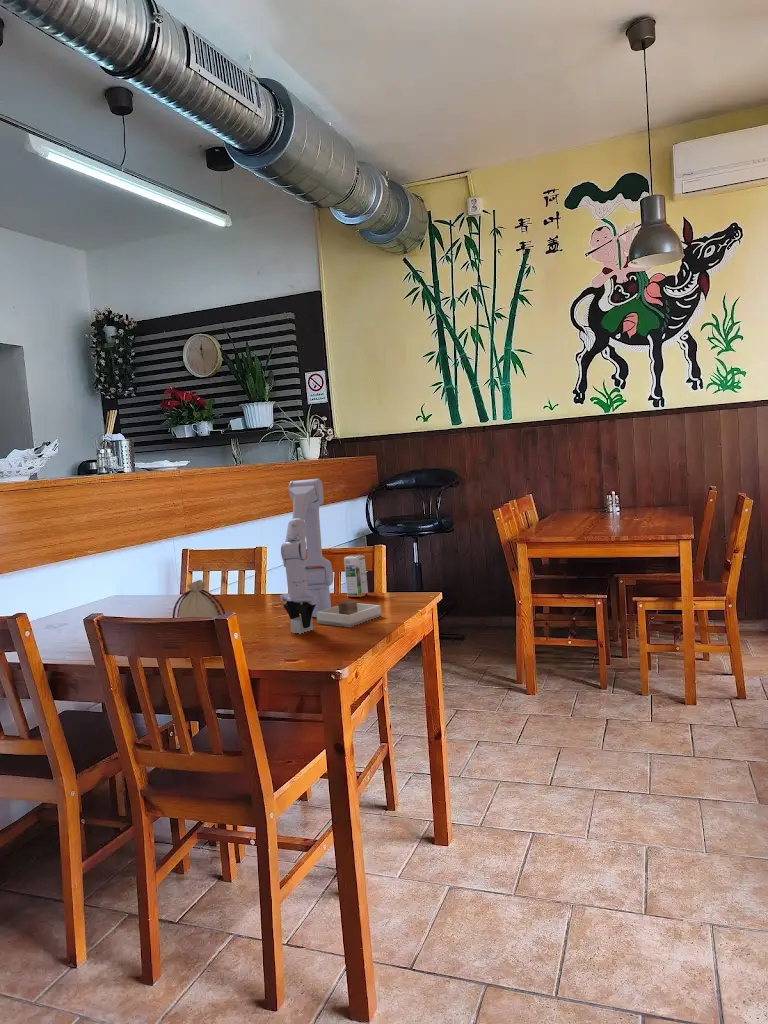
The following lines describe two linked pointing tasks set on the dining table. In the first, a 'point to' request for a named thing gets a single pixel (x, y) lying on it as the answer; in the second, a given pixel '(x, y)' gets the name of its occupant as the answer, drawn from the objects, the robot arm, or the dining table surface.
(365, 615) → the tote
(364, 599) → the dining table surface
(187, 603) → the pouch
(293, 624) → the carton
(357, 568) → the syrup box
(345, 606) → the walnut block
